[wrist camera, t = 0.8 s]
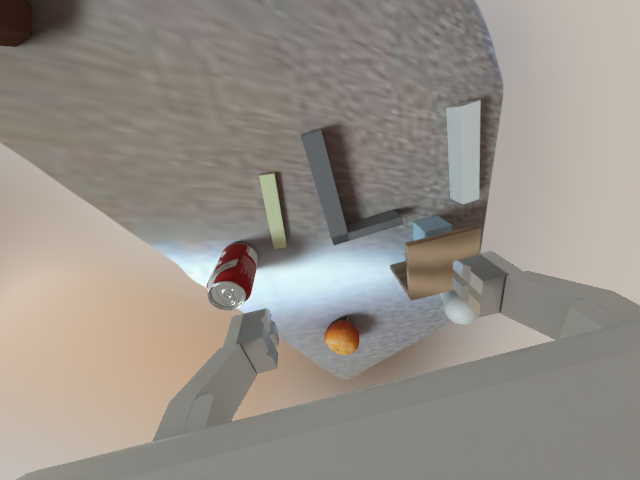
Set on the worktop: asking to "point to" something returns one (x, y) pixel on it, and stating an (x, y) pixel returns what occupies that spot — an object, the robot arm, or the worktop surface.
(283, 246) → the pale green stick
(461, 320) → the lightbulb
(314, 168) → the hook tool
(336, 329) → the fruit
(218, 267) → the soda can
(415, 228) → the block
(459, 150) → the grey stick
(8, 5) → the muffin
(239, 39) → the worktop surface
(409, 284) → the shelf
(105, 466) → the robot arm
